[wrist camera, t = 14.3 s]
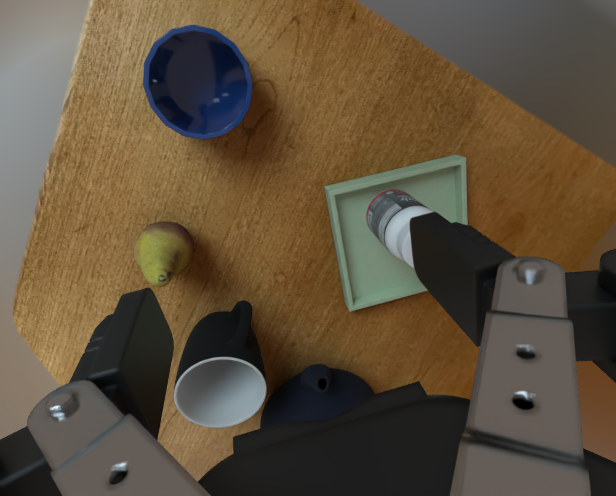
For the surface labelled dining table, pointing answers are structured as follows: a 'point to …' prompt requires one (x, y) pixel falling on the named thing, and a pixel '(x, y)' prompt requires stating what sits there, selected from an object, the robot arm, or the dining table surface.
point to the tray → (367, 247)
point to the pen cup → (197, 82)
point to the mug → (221, 370)
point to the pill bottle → (394, 221)
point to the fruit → (163, 251)
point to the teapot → (314, 396)
